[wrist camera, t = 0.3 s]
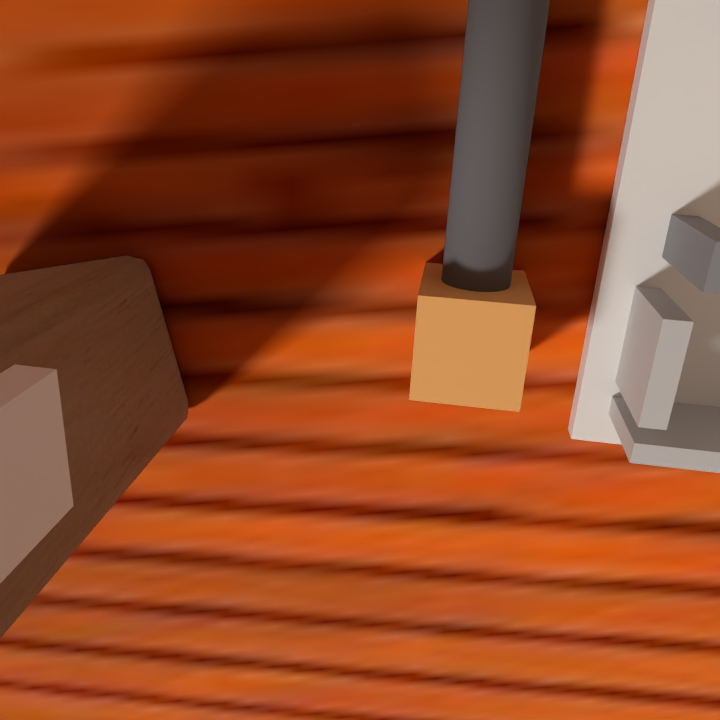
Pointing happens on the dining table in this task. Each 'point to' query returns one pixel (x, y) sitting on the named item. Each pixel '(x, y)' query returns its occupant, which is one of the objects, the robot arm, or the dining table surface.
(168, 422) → the wooden block
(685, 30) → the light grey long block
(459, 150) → the rod with end blocks
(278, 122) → the dining table surface
